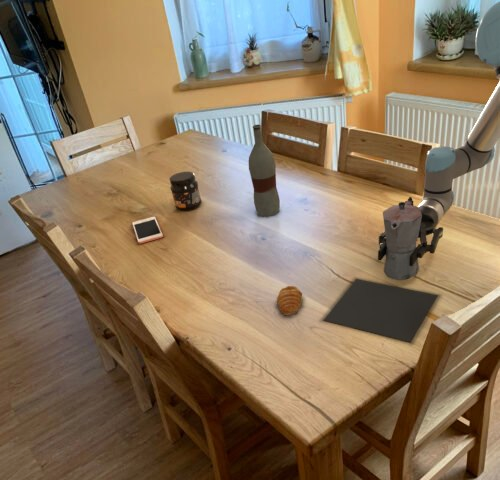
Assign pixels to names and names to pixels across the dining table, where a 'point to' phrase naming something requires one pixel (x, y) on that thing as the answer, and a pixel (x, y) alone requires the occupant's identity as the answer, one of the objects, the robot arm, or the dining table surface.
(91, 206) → the dining table surface
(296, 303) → the pastry
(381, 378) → the dining table surface
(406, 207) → the moka pot
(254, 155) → the bottle
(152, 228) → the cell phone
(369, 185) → the dining table surface
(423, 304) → the mat
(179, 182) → the supplement container
